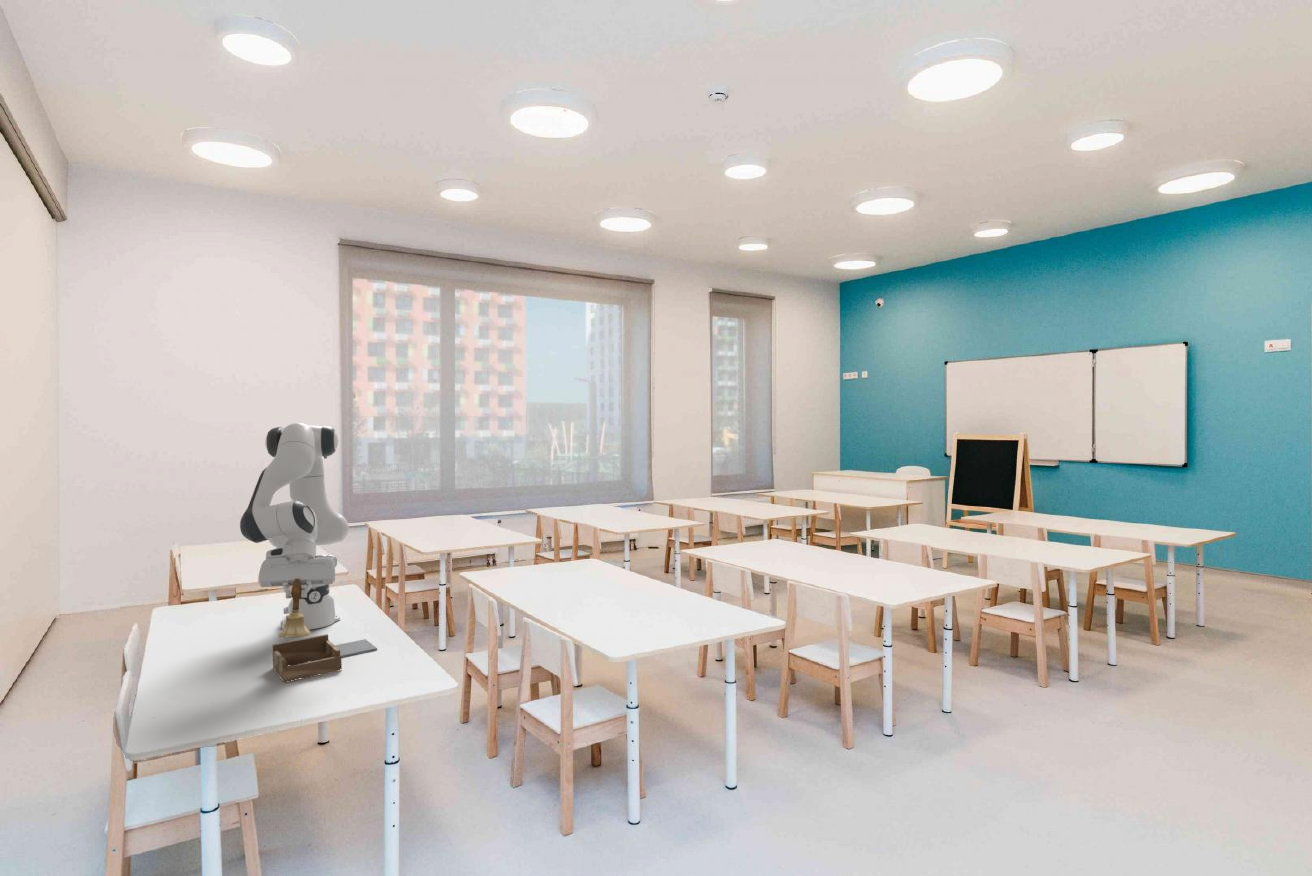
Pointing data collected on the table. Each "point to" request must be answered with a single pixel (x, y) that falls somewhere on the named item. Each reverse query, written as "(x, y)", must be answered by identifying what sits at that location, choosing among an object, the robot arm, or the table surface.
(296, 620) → the hand bell
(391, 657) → the table surface
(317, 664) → the open wooden box
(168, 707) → the table surface
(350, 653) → the slate mat
